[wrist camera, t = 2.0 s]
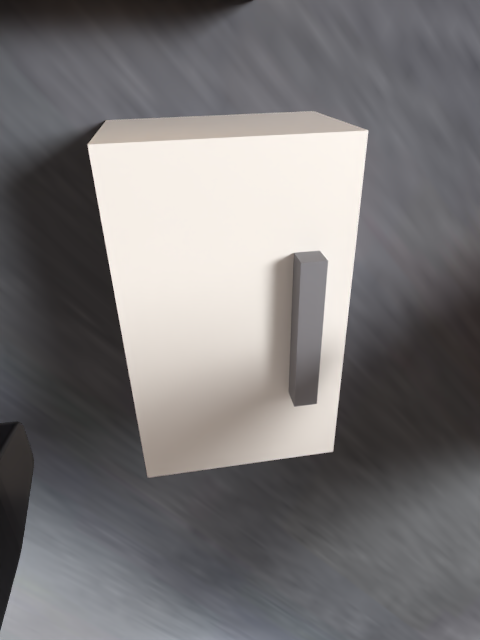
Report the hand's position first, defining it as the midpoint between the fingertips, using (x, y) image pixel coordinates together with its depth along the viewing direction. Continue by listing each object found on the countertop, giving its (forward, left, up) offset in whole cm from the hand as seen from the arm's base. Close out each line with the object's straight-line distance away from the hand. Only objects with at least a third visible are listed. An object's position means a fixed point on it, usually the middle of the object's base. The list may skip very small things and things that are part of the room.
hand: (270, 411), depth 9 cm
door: (0, 0, -7) cm, 7 cm away
